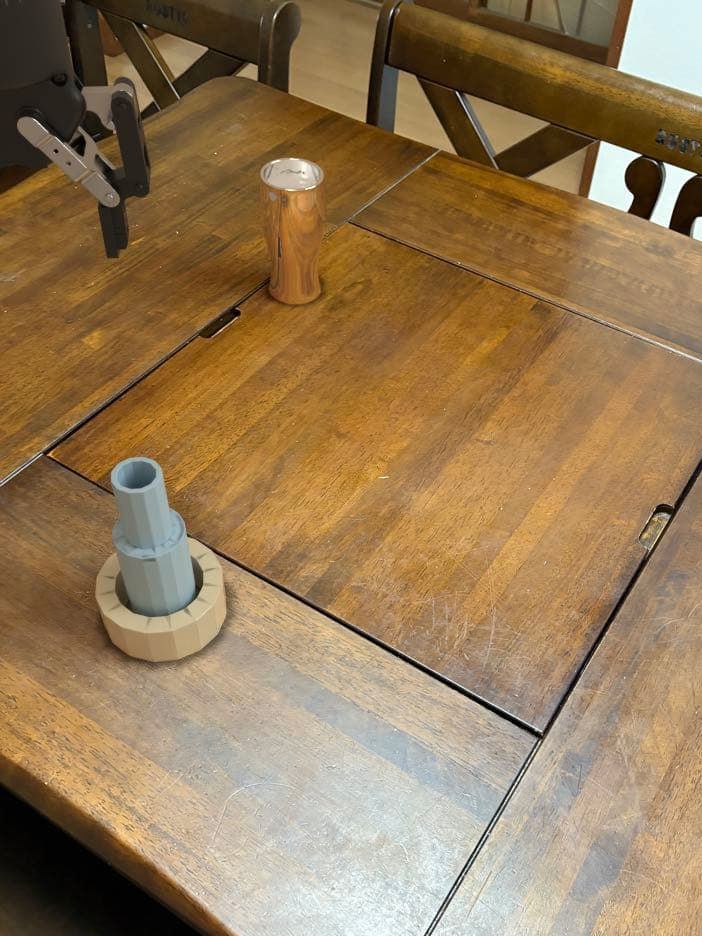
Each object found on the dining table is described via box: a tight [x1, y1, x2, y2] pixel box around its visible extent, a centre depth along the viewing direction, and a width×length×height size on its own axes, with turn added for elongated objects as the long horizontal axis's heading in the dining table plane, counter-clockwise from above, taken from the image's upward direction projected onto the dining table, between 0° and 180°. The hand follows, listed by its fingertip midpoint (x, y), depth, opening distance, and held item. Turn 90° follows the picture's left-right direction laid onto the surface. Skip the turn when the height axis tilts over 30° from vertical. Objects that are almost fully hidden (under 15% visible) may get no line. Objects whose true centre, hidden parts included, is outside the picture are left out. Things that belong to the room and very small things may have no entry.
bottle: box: [110, 456, 198, 617], centre depth 69 cm, size 5×5×17 cm
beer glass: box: [259, 157, 327, 305], centre depth 100 cm, size 7×7×15 cm
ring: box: [94, 536, 227, 663], centre depth 75 cm, size 10×10×5 cm
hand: (43, 251), depth 57 cm, fingers open, 8 cm apart
